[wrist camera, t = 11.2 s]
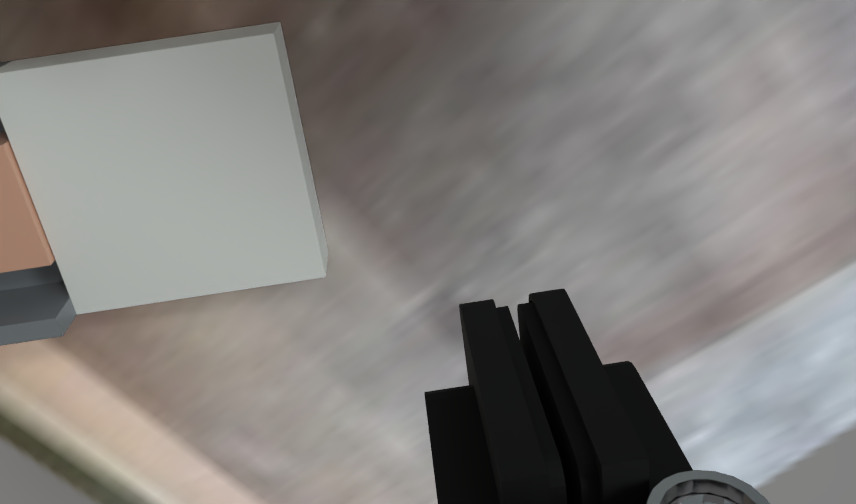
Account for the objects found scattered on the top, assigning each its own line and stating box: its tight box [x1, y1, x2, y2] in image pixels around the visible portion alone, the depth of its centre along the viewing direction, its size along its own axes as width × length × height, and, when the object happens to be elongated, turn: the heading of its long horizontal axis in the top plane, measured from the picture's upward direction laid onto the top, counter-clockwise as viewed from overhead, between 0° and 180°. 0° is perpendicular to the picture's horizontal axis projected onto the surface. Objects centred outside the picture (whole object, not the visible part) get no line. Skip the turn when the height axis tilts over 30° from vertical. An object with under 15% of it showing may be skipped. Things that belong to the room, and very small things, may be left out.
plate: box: [0, 22, 328, 315], centre depth 37 cm, size 12×12×3 cm
